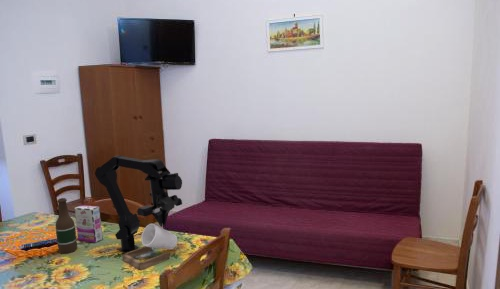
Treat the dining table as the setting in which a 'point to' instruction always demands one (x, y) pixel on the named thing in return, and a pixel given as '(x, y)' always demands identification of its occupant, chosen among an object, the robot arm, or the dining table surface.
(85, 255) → the dining table surface
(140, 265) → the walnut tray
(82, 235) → the candy bar box
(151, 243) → the foam cup
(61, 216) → the beer bottle
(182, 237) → the dining table surface
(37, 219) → the dining table surface
